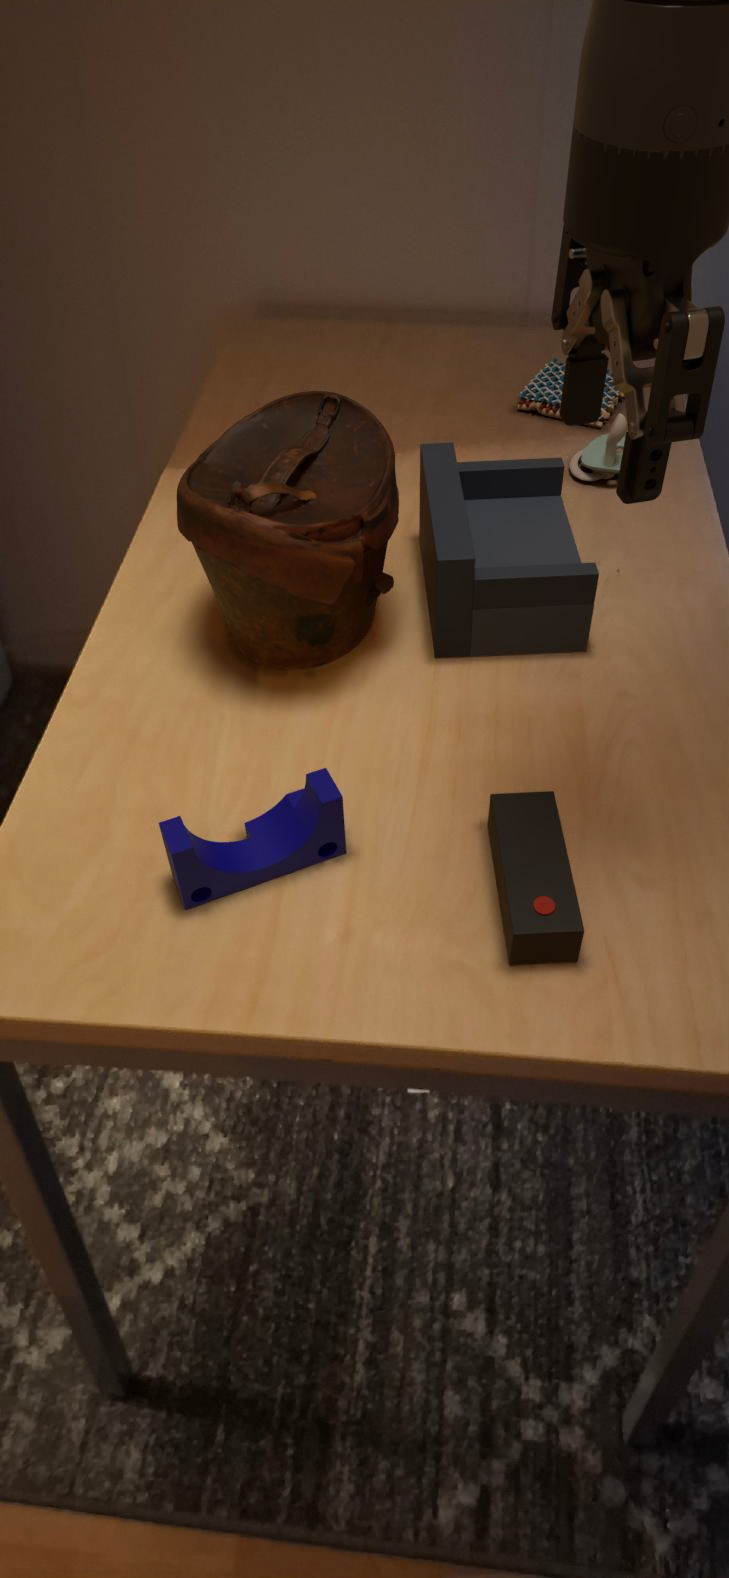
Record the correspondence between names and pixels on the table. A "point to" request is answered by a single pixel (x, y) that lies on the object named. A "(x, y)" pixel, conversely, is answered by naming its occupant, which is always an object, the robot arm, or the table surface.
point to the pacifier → (602, 454)
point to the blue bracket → (259, 844)
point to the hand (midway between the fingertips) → (606, 458)
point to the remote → (534, 879)
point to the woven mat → (549, 393)
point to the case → (295, 526)
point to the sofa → (500, 557)
